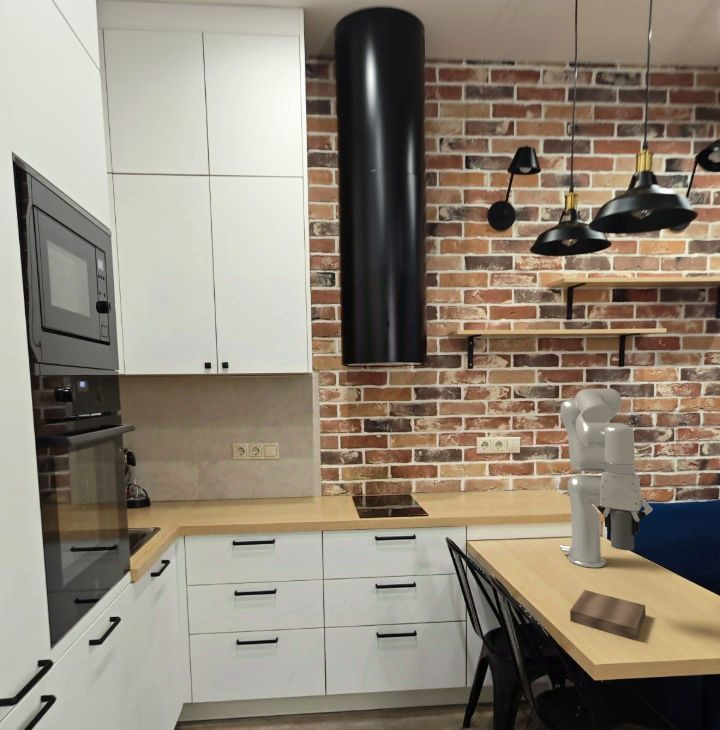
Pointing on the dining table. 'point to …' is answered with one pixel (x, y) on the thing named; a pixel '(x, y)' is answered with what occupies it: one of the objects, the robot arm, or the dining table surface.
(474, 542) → the dining table surface
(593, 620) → the base
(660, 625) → the dining table surface
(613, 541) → the bottle
